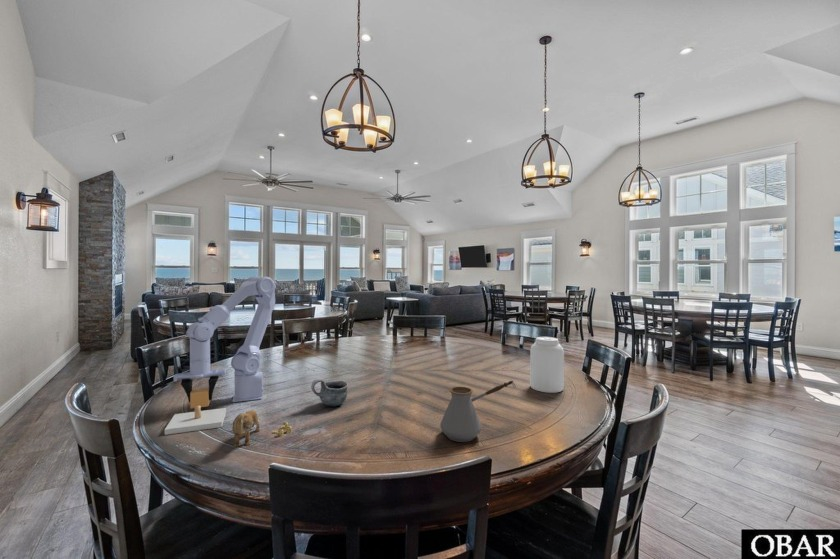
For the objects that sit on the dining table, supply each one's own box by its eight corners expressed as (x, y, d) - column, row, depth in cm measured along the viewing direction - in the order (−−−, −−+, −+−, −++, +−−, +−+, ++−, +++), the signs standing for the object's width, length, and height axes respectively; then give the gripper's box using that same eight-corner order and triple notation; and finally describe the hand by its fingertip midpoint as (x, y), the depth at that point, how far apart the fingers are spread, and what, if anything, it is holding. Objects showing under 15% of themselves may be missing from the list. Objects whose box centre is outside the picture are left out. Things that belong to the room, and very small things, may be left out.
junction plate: (226, 412, 118) (226, 397, 118) (221, 427, 107) (221, 410, 107) (174, 418, 113) (174, 402, 113) (164, 434, 102) (164, 417, 102)
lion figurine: (252, 451, 93) (252, 415, 93) (229, 453, 92) (229, 417, 92) (261, 427, 107) (261, 396, 107) (241, 429, 106) (241, 398, 106)
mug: (353, 404, 126) (353, 375, 126) (321, 414, 117) (321, 383, 117) (337, 397, 133) (337, 370, 133) (306, 407, 124) (306, 377, 123)
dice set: (286, 428, 108) (286, 421, 108) (295, 433, 105) (295, 426, 105) (270, 434, 104) (270, 427, 104) (279, 439, 101) (279, 432, 101)
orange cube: (210, 401, 124) (210, 386, 124) (208, 406, 119) (208, 390, 119) (193, 403, 122) (193, 388, 122) (190, 408, 117) (190, 392, 117)
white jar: (570, 389, 143) (570, 338, 143) (550, 395, 136) (550, 342, 136) (543, 381, 154) (543, 334, 153) (523, 386, 146) (523, 336, 146)
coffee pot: (444, 446, 96) (444, 389, 96) (436, 428, 107) (437, 377, 107) (522, 442, 99) (523, 386, 98) (507, 424, 110) (507, 374, 110)
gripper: (170, 364, 114) (171, 407, 114) (223, 359, 119) (224, 401, 119) (176, 359, 120) (176, 400, 120) (226, 355, 126) (226, 394, 126)
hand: (200, 400), depth 120 cm, fingers closed on orange cube, 5 cm apart
